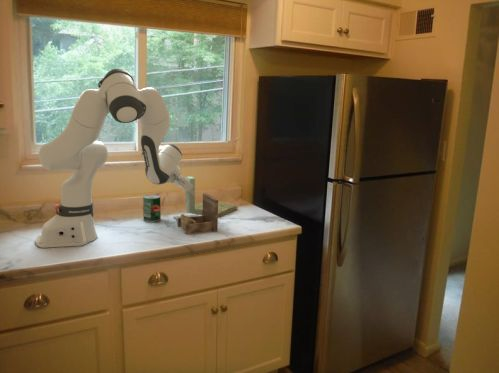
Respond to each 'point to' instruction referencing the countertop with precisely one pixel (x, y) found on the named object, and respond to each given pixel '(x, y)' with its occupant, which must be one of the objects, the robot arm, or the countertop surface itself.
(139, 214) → the countertop surface
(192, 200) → the pale green block
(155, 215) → the canned tomato
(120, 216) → the countertop surface
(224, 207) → the decorative tile
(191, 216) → the grey mat
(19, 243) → the countertop surface
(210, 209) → the walnut rack
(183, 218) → the offcut stack
